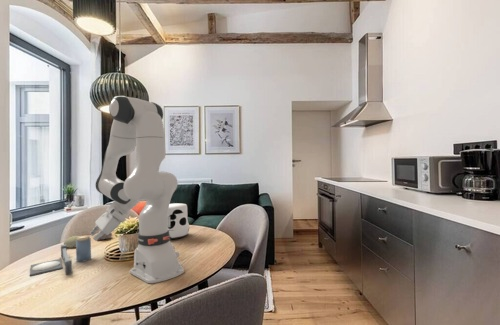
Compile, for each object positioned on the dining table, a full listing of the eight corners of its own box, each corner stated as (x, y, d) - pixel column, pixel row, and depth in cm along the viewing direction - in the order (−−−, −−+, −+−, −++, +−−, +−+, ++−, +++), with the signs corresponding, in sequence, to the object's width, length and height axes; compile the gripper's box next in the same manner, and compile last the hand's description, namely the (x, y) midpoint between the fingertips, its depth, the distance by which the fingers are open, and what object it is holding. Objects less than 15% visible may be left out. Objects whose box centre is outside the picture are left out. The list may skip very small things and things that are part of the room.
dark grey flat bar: (71, 273, 97) (71, 260, 97) (65, 274, 96) (65, 261, 96) (66, 254, 117) (66, 244, 117) (61, 256, 116) (60, 245, 116)
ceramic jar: (91, 259, 111) (91, 237, 111) (77, 262, 108) (76, 239, 108) (90, 255, 116) (89, 234, 115) (75, 259, 112) (75, 236, 112)
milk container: (186, 231, 155) (186, 202, 154) (191, 238, 139) (191, 206, 139) (157, 234, 148) (156, 204, 148) (159, 243, 132) (158, 209, 132)
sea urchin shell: (69, 246, 124) (64, 233, 127) (65, 255, 127) (59, 242, 130) (89, 241, 132) (84, 229, 135) (84, 249, 135) (79, 238, 138)
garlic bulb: (93, 241, 138) (93, 226, 138) (101, 237, 145) (101, 223, 145) (107, 241, 138) (107, 226, 138) (114, 237, 145) (114, 223, 145)
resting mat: (62, 268, 102) (62, 266, 102) (30, 276, 95) (29, 274, 95) (60, 260, 111) (60, 258, 111) (30, 266, 105) (30, 264, 105)
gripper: (106, 206, 127) (83, 228, 121) (115, 212, 111) (90, 238, 105) (116, 213, 130) (94, 235, 124) (126, 220, 114) (102, 246, 108)
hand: (92, 237), depth 114 cm, fingers open, 8 cm apart
